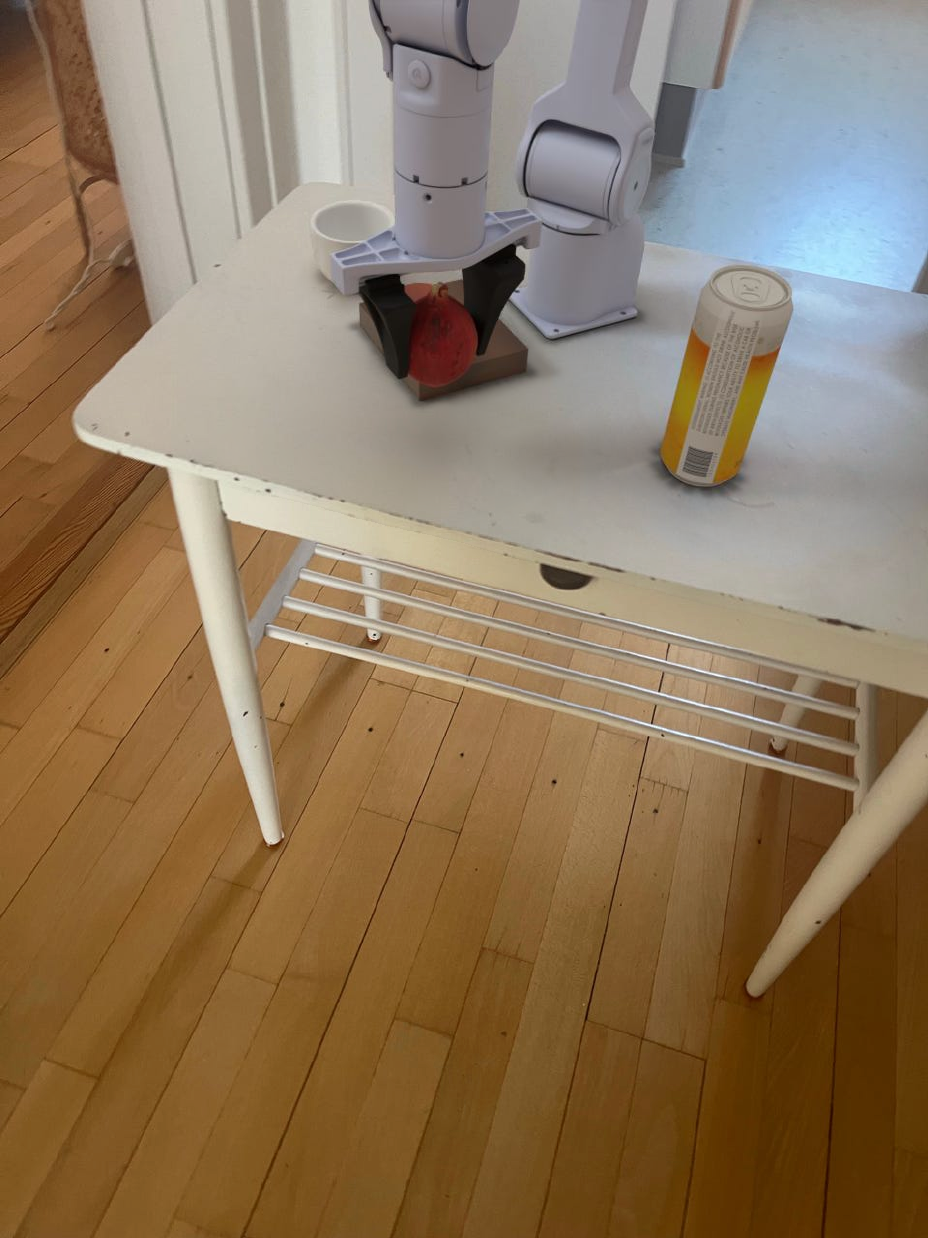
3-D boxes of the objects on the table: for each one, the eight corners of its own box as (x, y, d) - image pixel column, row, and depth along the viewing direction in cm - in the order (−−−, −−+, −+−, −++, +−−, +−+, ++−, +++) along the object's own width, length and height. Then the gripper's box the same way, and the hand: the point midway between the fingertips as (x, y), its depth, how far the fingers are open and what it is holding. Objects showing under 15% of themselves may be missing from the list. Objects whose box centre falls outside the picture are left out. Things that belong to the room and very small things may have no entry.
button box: (460, 300, 87) (462, 259, 84) (526, 371, 80) (530, 329, 77) (352, 327, 83) (350, 285, 80) (411, 403, 76) (411, 360, 73)
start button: (432, 296, 80) (433, 277, 79) (456, 323, 78) (457, 304, 76) (385, 308, 79) (384, 289, 77) (407, 335, 76) (407, 316, 75)
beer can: (739, 447, 74) (798, 269, 63) (736, 498, 71) (798, 317, 59) (662, 434, 75) (706, 255, 64) (654, 483, 71) (700, 301, 60)
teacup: (326, 250, 91) (322, 195, 87) (405, 260, 91) (404, 205, 87) (297, 305, 85) (292, 248, 81) (381, 316, 84) (380, 259, 80)
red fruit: (467, 414, 67) (473, 314, 61) (388, 403, 68) (385, 302, 62) (480, 368, 71) (486, 268, 65) (405, 357, 72) (404, 258, 66)
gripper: (508, 121, 62) (495, 307, 73) (303, 161, 57) (320, 355, 68) (568, 164, 58) (545, 355, 69) (354, 212, 53) (363, 410, 64)
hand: (436, 359), depth 68 cm, fingers closed on red fruit, 6 cm apart
